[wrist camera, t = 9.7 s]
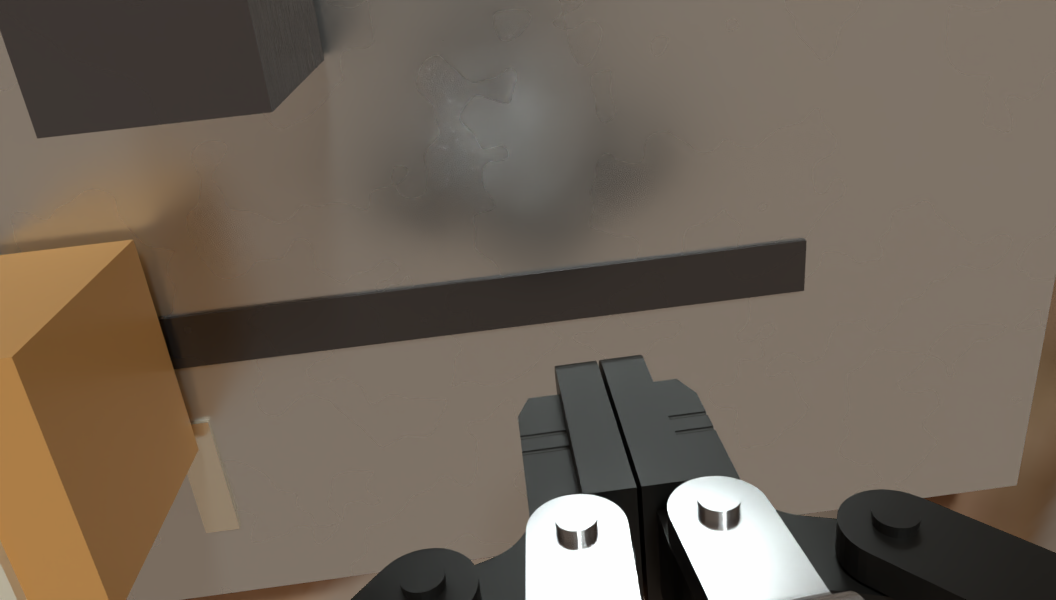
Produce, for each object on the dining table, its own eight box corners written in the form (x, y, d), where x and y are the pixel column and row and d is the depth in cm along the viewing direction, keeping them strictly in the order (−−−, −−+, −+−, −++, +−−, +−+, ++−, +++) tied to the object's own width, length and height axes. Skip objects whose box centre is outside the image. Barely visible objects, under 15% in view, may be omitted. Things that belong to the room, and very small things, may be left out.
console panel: (1112, -473, 15) (1653, -806, 8) (971, 442, 23) (1187, 649, 16) (-616, -327, 14) (-1645, -581, 7) (-118, 588, 22) (-368, 878, 15)
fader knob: (133, 239, 16) (4, 363, 12) (198, 449, 18) (112, 628, 14) (-22, 257, 16) (-216, 390, 11) (62, 467, 18) (-74, 654, 13)
